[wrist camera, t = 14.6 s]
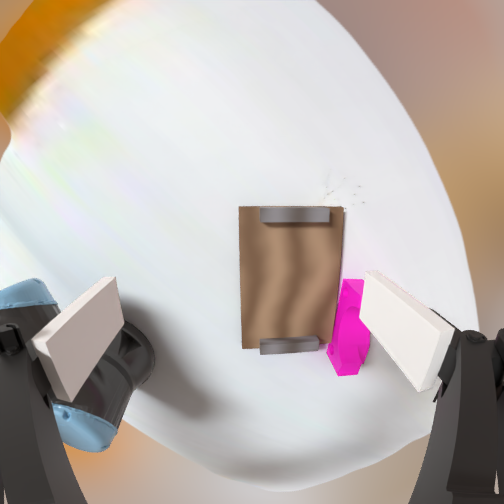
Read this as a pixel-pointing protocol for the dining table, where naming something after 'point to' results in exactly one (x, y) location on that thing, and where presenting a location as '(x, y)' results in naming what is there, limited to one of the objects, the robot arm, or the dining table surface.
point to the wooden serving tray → (289, 276)
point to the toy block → (349, 331)
